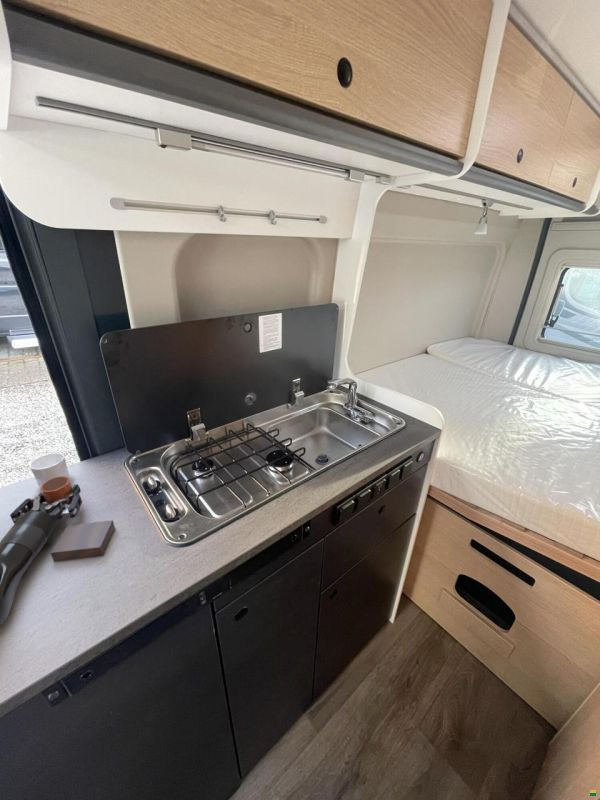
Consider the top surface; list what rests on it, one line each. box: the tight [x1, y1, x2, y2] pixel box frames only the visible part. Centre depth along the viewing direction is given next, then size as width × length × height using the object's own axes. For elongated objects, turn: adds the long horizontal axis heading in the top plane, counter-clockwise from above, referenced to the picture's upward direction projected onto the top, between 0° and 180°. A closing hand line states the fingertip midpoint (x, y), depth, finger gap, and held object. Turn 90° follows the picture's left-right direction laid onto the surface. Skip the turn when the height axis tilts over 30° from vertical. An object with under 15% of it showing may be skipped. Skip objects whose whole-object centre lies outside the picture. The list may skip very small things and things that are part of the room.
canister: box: [39, 476, 73, 508], centre depth 85 cm, size 6×6×9 cm
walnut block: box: [50, 520, 116, 563], centre depth 76 cm, size 10×8×4 cm
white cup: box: [29, 452, 71, 488], centre depth 93 cm, size 8×8×10 cm
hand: (63, 488), depth 87 cm, fingers closed on canister, 6 cm apart
